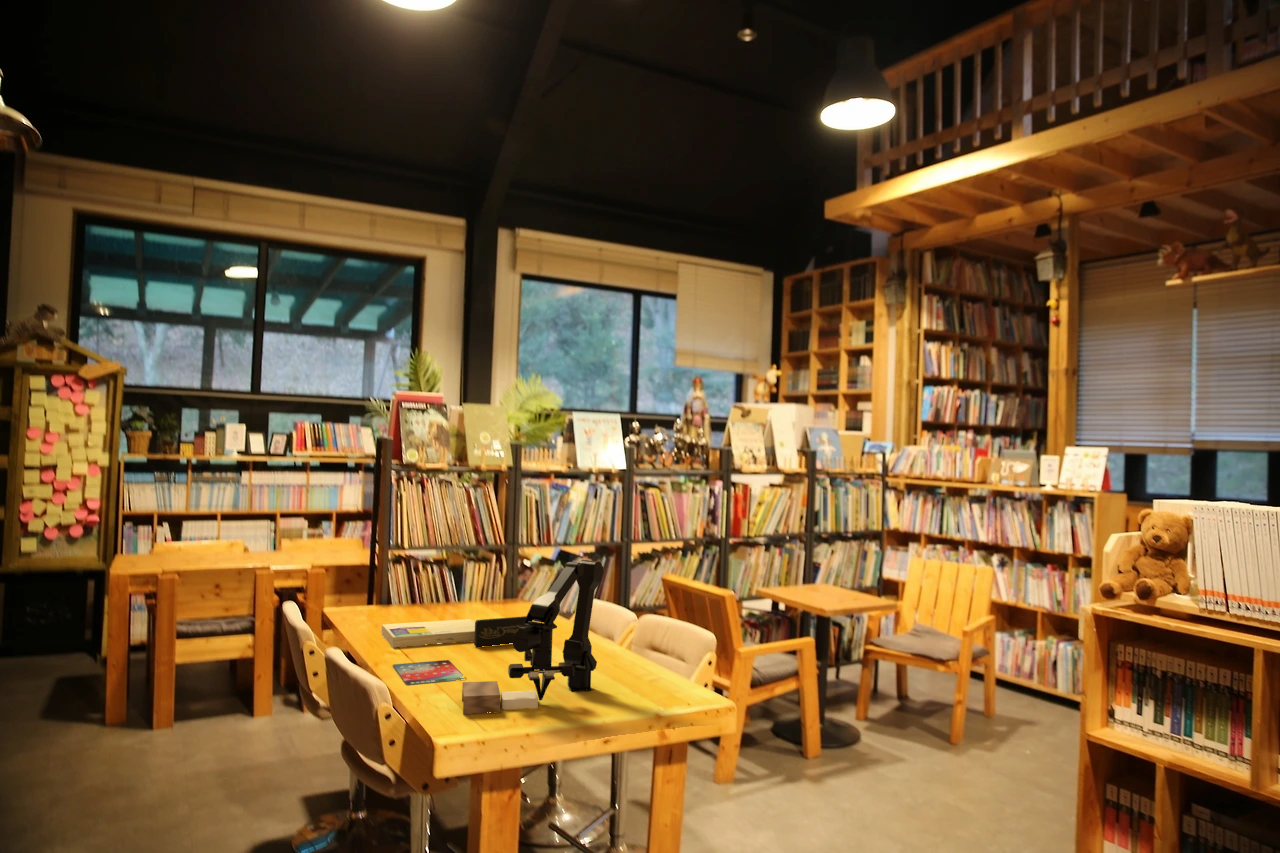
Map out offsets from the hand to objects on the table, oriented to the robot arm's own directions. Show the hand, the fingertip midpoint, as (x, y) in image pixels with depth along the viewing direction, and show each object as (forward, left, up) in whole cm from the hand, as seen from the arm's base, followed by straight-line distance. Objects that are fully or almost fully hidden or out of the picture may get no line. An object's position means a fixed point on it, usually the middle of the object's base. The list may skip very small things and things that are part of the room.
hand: (540, 699), depth 239 cm
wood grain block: (+17, 0, -1) cm, 17 cm away
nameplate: (+6, -74, -2) cm, 74 cm away
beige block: (+6, 0, -1) cm, 6 cm away
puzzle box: (+31, -89, -2) cm, 94 cm away
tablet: (+32, -38, -2) cm, 50 cm away
